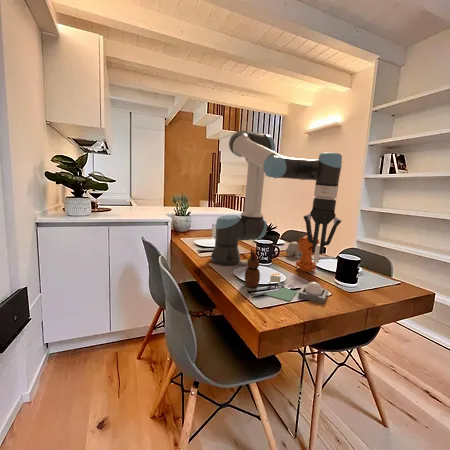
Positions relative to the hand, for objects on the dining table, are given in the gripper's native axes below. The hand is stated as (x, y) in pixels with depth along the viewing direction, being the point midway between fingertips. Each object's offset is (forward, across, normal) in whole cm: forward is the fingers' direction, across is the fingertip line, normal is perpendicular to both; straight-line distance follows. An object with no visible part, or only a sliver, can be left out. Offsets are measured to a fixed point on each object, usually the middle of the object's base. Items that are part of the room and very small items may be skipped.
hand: (316, 261), depth 98 cm
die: (+14, -15, +3) cm, 21 cm away
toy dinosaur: (+14, -8, +30) cm, 34 cm away
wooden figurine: (+14, -22, -5) cm, 27 cm away
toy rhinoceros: (+15, -19, +49) cm, 54 cm away
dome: (+14, +1, 0) cm, 14 cm away
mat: (+13, -10, -5) cm, 18 cm away
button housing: (+13, +1, 0) cm, 13 cm away
